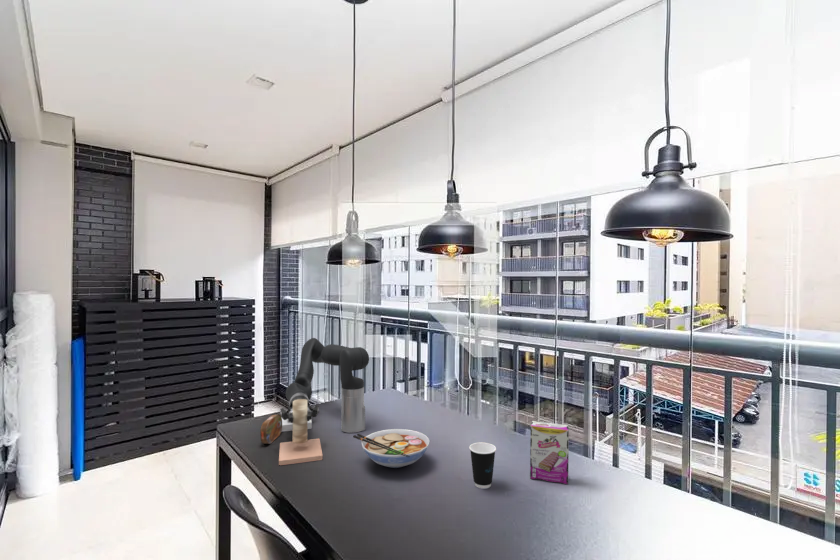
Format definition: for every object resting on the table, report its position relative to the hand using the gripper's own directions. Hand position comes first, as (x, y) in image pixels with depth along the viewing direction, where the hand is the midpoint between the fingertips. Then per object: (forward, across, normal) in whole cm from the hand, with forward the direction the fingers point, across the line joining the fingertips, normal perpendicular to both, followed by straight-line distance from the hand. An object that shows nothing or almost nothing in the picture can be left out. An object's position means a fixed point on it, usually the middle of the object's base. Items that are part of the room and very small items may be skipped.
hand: (300, 419), depth 141 cm
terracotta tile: (-2, 0, +13) cm, 13 cm away
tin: (-19, -10, +13) cm, 25 cm away
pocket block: (-32, -1, +13) cm, 35 cm away
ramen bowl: (+16, +30, +13) cm, 36 cm away
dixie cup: (+37, +51, +12) cm, 65 cm away
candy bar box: (+40, +72, +12) cm, 84 cm away
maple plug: (-3, 0, +8) cm, 9 cm away
